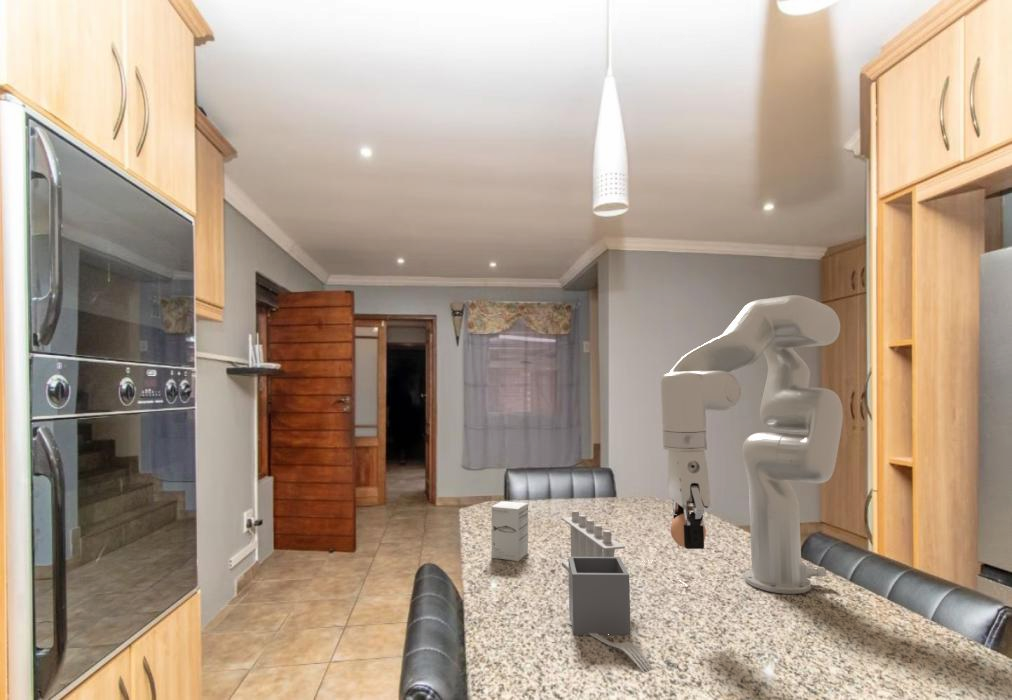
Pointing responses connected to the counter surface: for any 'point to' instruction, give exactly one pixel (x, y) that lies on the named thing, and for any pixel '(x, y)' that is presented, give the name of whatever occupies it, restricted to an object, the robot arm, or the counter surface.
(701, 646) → the counter surface
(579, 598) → the grey open square box
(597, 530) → the test tube rack
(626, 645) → the fork
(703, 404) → the robot arm
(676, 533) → the ball
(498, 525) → the supplement box
